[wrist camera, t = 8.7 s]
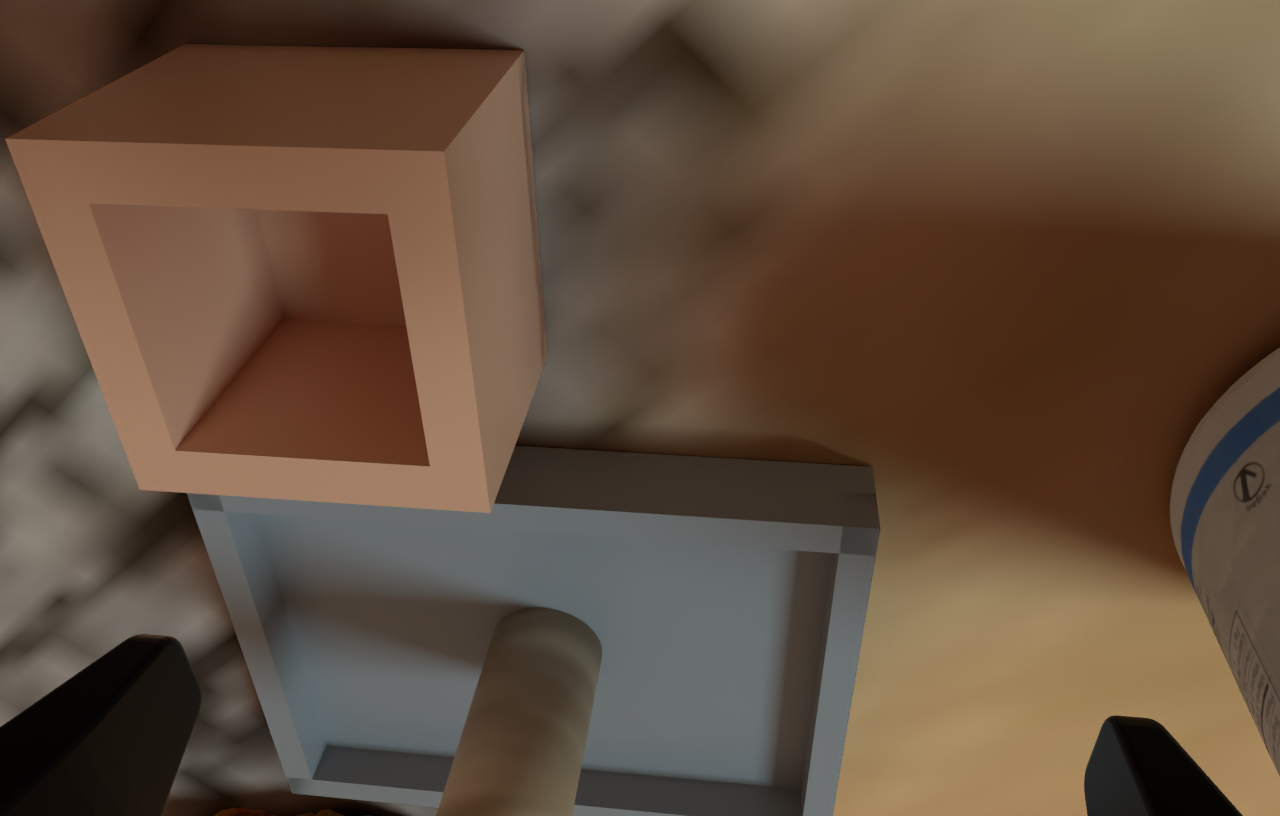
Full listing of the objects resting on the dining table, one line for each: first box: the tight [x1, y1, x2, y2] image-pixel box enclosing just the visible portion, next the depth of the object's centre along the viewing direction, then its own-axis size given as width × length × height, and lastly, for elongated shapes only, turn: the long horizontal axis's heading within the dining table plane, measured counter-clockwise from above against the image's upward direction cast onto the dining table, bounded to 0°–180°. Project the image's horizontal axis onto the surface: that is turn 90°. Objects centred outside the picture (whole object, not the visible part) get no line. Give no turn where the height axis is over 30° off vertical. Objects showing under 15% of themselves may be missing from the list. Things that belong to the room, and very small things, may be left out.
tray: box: [187, 446, 880, 816], centre depth 27 cm, size 16×12×2 cm
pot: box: [5, 44, 548, 513], centre depth 19 cm, size 7×7×6 cm
